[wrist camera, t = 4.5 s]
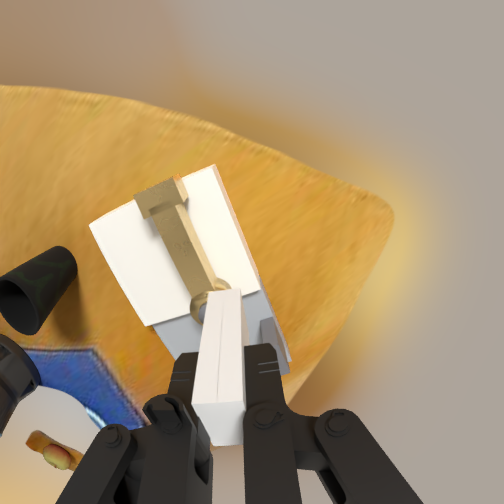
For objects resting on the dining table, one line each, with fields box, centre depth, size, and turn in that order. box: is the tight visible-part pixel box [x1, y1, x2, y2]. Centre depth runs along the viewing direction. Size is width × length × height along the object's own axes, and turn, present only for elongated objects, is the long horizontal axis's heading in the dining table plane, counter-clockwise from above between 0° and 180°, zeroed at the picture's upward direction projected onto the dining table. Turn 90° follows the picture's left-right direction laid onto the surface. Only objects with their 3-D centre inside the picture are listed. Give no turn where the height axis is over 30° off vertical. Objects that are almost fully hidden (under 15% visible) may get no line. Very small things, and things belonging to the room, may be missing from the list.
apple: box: [43, 444, 71, 470], centre depth 52 cm, size 10×10×8 cm
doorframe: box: [89, 164, 291, 375], centre depth 32 cm, size 15×28×9 cm, turn 20°
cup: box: [0, 246, 77, 335], centre depth 28 cm, size 8×8×12 cm
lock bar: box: [133, 174, 232, 326], centre depth 27 cm, size 4×15×3 cm, turn 20°
